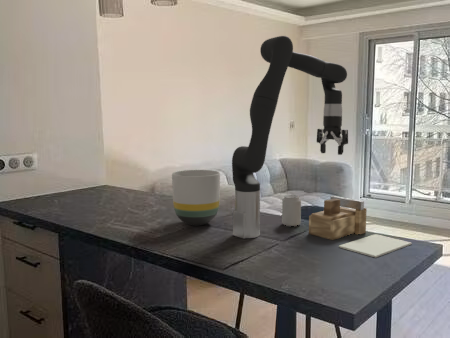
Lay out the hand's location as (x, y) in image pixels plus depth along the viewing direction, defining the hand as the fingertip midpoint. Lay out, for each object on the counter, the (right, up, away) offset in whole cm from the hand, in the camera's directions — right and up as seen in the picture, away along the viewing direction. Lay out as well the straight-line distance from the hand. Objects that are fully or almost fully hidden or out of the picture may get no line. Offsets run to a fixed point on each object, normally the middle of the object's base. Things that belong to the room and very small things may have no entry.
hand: (331, 153), depth 183 cm
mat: (+7, -33, -34) cm, 47 cm away
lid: (-3, -25, -18) cm, 30 cm away
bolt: (+2, -21, -14) cm, 25 cm away
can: (-18, -29, -5) cm, 35 cm away
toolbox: (-3, -31, -17) cm, 35 cm away
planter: (-57, -29, -3) cm, 64 cm away
